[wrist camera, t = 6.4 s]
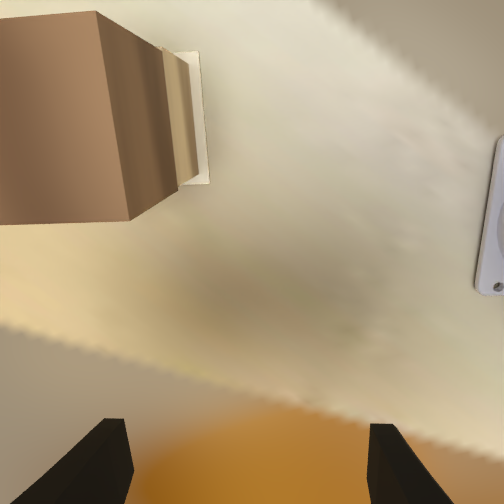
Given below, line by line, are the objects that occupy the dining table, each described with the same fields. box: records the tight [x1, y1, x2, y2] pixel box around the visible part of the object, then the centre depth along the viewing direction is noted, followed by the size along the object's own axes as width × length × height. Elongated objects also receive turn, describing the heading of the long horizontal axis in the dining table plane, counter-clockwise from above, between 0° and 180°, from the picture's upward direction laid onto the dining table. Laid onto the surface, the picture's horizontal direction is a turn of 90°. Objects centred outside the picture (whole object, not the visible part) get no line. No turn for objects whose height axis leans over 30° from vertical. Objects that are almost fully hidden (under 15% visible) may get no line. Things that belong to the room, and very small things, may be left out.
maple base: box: [156, 47, 199, 186], centre depth 16 cm, size 5×5×4 cm
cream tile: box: [172, 51, 210, 185], centre depth 18 cm, size 6×6×1 cm
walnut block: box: [0, 11, 178, 225], centre depth 12 cm, size 5×5×5 cm
